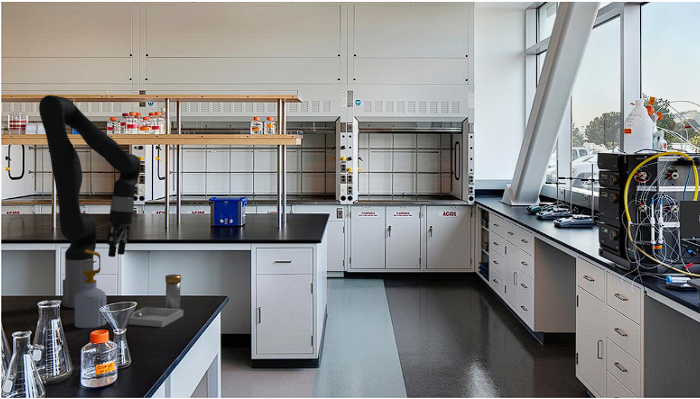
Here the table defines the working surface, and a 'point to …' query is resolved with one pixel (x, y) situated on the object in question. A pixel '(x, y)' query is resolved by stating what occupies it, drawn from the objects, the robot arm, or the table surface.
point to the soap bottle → (90, 301)
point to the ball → (138, 315)
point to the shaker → (173, 291)
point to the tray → (156, 316)
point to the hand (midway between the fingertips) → (116, 255)
